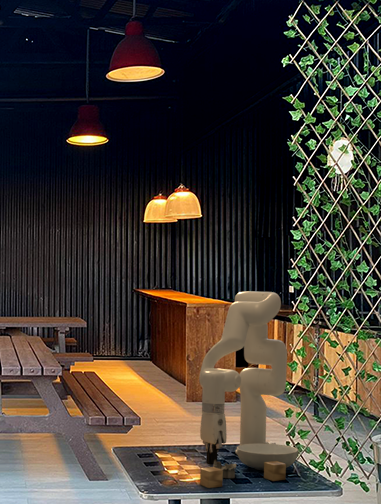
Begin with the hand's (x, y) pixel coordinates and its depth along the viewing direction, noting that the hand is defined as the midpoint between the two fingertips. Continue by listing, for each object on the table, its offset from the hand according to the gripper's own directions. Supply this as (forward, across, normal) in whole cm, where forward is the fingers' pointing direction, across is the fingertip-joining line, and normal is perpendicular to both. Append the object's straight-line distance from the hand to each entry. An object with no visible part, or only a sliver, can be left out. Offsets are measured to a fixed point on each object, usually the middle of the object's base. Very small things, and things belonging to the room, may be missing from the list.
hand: (211, 463), depth 282 cm
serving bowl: (+2, -4, -19) cm, 20 cm away
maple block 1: (+2, -19, +11) cm, 22 cm away
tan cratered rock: (+3, -8, 0) cm, 8 cm away
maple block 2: (+2, -18, -13) cm, 22 cm away
